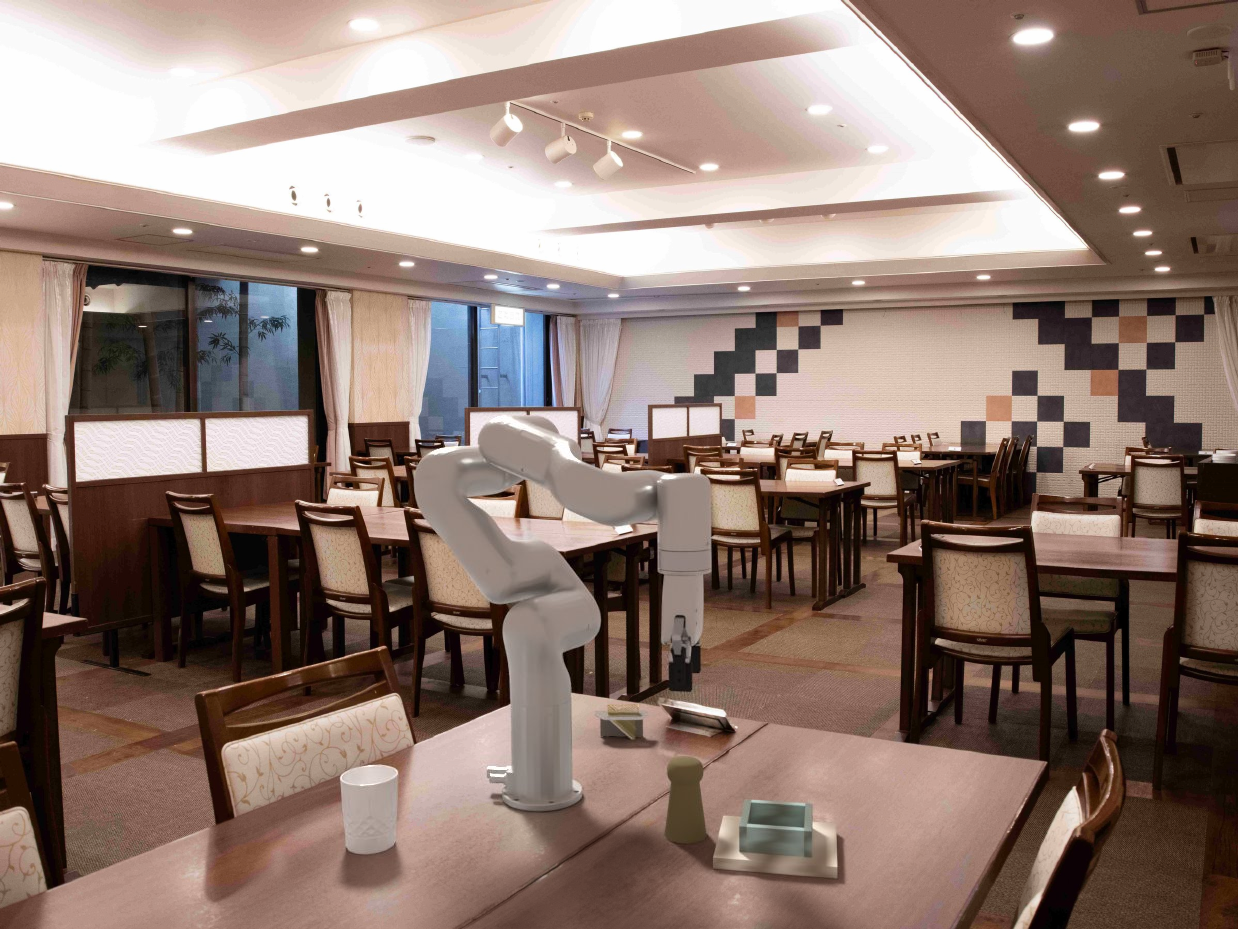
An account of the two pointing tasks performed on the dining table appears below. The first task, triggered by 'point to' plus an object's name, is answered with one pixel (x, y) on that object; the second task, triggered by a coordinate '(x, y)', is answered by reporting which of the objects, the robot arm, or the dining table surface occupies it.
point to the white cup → (369, 808)
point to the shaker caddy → (777, 841)
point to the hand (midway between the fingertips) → (685, 681)
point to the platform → (622, 721)
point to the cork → (685, 801)
